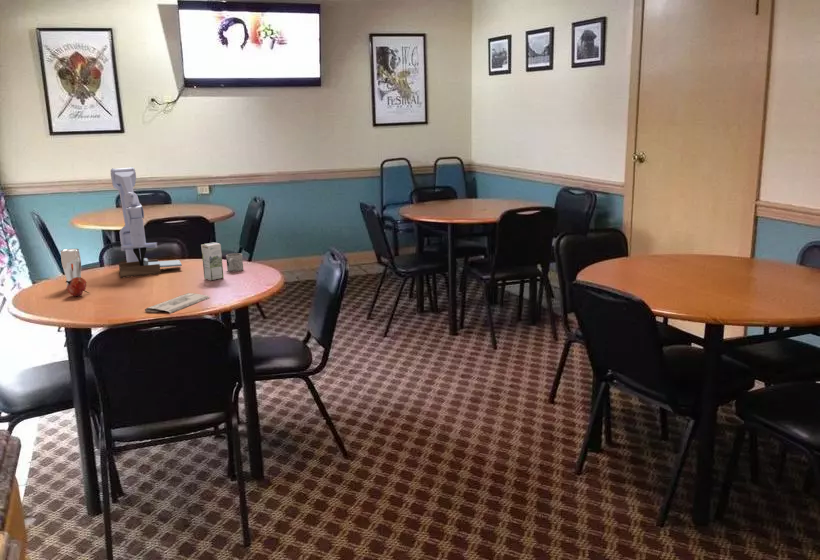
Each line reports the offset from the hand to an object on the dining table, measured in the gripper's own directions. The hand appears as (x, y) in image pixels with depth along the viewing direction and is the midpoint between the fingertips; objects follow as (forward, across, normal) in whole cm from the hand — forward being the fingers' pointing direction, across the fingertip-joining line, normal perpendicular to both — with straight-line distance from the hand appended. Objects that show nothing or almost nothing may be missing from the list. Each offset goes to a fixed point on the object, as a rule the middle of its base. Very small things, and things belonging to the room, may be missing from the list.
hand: (141, 265), depth 306 cm
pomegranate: (+3, -24, -32) cm, 40 cm away
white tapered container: (+3, -26, -15) cm, 30 cm away
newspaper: (+4, +8, -67) cm, 68 cm away
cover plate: (+1, +8, 0) cm, 9 cm away
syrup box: (+3, +26, -31) cm, 41 cm away
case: (+3, -1, 0) cm, 3 cm away
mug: (+3, +36, -19) cm, 41 cm away
